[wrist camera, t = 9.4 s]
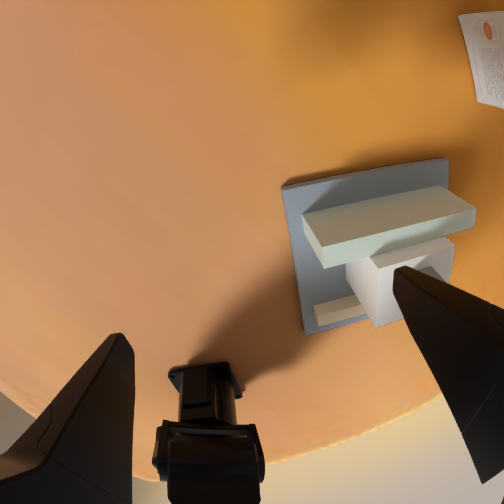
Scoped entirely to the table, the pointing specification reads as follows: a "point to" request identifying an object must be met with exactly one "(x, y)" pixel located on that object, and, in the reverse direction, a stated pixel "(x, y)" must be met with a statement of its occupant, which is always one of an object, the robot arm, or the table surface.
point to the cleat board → (363, 229)
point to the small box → (486, 54)
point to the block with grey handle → (382, 269)
